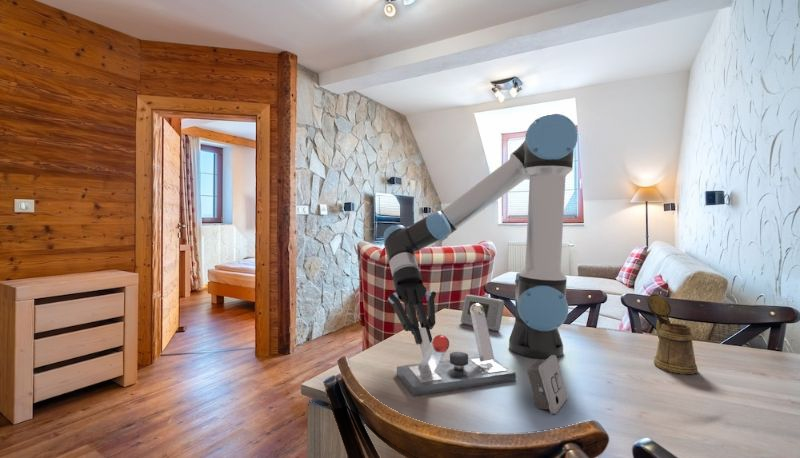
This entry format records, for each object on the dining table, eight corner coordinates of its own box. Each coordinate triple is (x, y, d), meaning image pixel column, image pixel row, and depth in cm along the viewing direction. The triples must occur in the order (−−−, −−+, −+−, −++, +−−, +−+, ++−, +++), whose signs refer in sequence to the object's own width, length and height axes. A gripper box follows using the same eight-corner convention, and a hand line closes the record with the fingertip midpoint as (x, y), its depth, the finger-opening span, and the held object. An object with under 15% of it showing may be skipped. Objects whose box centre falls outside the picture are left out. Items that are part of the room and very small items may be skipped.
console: (489, 362, 100) (489, 349, 100) (515, 380, 89) (515, 365, 89) (396, 374, 92) (396, 360, 92) (413, 396, 81) (413, 379, 81)
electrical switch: (555, 416, 73) (550, 368, 73) (528, 410, 76) (524, 364, 76) (568, 399, 80) (564, 355, 80) (543, 394, 83) (540, 352, 84)
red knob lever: (430, 362, 89) (448, 330, 80) (434, 376, 87) (453, 346, 77) (416, 363, 88) (432, 332, 78) (419, 378, 86) (437, 348, 76)
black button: (462, 358, 94) (462, 351, 94) (471, 364, 89) (471, 357, 89) (446, 360, 92) (446, 352, 92) (454, 366, 88) (454, 359, 88)
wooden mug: (668, 355, 106) (669, 292, 106) (706, 375, 92) (708, 303, 92) (636, 355, 106) (637, 292, 106) (670, 375, 93) (672, 303, 92)
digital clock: (457, 323, 139) (458, 295, 139) (475, 319, 144) (475, 292, 144) (491, 334, 126) (491, 303, 126) (508, 330, 131) (509, 299, 131)
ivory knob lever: (490, 360, 96) (478, 304, 101) (497, 359, 92) (484, 301, 98) (477, 362, 94) (466, 305, 100) (484, 360, 91) (472, 302, 97)
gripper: (424, 280, 105) (449, 360, 90) (379, 282, 101) (397, 366, 86) (432, 264, 100) (459, 345, 85) (385, 265, 96) (404, 351, 81)
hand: (428, 356), depth 85 cm, fingers closed
